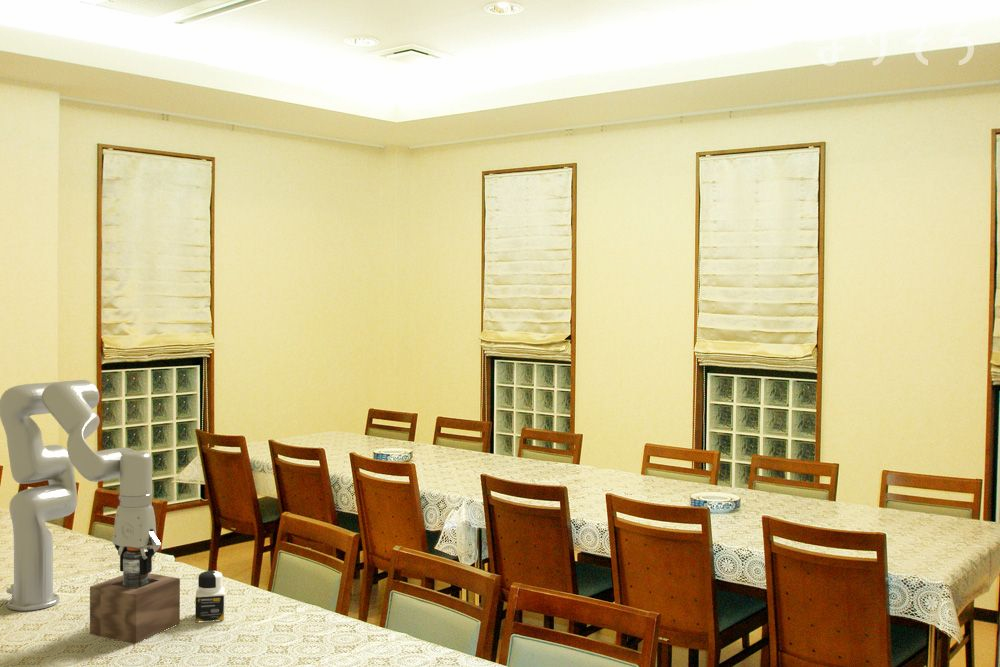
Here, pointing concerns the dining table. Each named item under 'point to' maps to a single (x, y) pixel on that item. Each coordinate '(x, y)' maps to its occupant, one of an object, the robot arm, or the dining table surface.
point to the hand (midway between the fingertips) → (135, 571)
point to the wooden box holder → (134, 608)
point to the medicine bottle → (210, 597)
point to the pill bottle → (133, 569)
